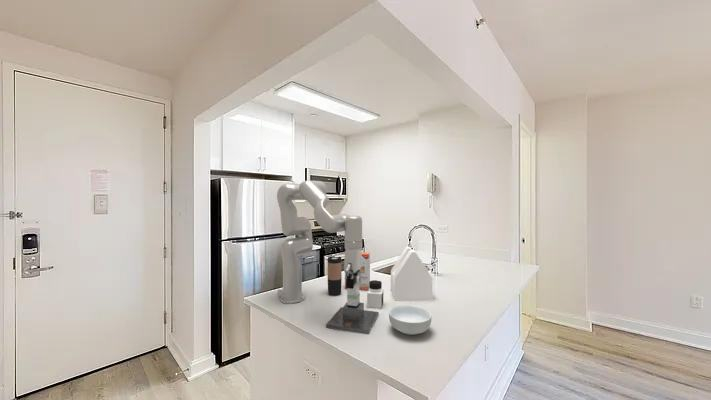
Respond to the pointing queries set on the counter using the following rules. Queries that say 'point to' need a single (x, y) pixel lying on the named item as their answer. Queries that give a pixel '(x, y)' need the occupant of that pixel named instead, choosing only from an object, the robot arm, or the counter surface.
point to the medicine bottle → (375, 294)
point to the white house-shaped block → (410, 278)
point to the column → (354, 291)
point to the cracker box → (364, 271)
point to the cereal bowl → (410, 319)
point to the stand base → (353, 319)
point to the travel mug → (334, 276)
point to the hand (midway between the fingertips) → (353, 284)
